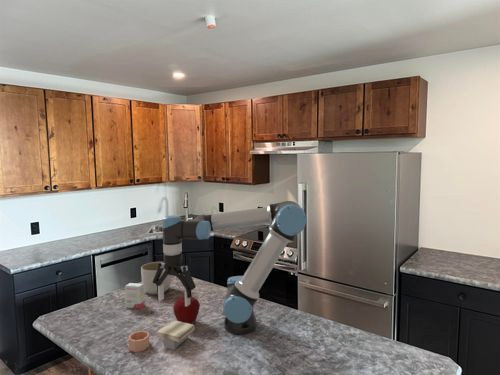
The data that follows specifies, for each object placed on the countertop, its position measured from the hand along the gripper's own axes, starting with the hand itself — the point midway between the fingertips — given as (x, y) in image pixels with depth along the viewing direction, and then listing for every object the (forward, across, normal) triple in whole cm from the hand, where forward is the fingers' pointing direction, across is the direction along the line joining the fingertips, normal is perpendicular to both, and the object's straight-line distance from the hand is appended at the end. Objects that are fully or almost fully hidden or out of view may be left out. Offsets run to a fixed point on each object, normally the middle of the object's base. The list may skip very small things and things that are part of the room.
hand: (174, 302), depth 142 cm
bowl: (+17, +11, +10) cm, 22 cm away
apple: (+17, +4, -14) cm, 23 cm away
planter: (+17, +43, -40) cm, 61 cm away
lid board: (+13, -1, 0) cm, 13 cm away
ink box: (+17, +40, -19) cm, 48 cm away
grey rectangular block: (+17, -1, 0) cm, 17 cm away
